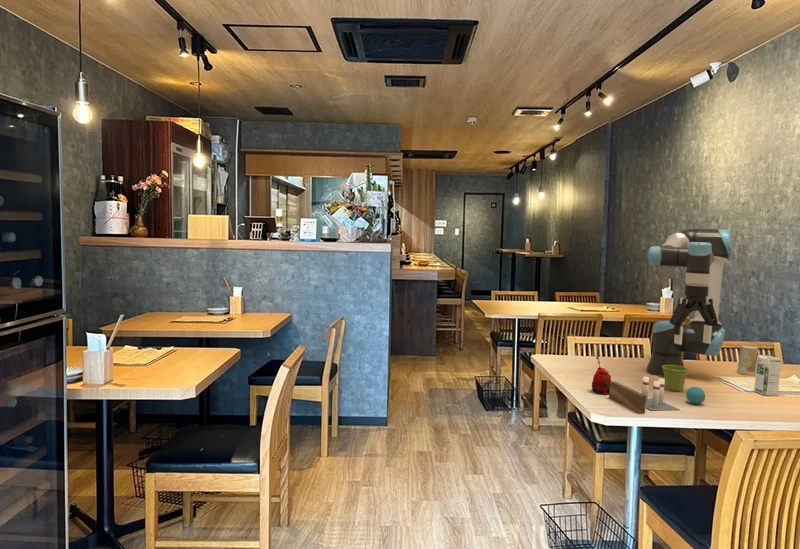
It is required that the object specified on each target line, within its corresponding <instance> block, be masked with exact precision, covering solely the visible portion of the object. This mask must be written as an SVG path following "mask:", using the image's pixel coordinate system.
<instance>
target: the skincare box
mask: <svg viewBox="0 0 800 549" xmlns="http://www.w3.org/2000/svg"><path fill="white" fill-rule="evenodd" d="M739 347H740V348H739V357H738V366H737V373H738V374H740V375H748V376H755V377H756V367H757V357H758V347H757V346H749V345H748V346H747V345H740V346H739Z"/></svg>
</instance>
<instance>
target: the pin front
mask: <svg viewBox="0 0 800 549" xmlns="http://www.w3.org/2000/svg"><path fill="white" fill-rule="evenodd" d="M657 381H659V382H660V390H659V405H663V402H664V394H665V379H664V378H658V380H657Z"/></svg>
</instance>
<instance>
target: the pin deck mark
mask: <svg viewBox="0 0 800 549" xmlns="http://www.w3.org/2000/svg"><path fill="white" fill-rule="evenodd" d="M652 398H653V397H651V398H648V400H647V402H646V405H645V410H649V411H650V412H655V411H656V412H657V411H658V412H659V411H662V412H663V411H664V410H665V411H666V410H667V411H681V410H680V408H677V407H676V406H673V405H671V404H669V403H666V402H665V401H663V405H659V404H658V408H654V407H652Z"/></svg>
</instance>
